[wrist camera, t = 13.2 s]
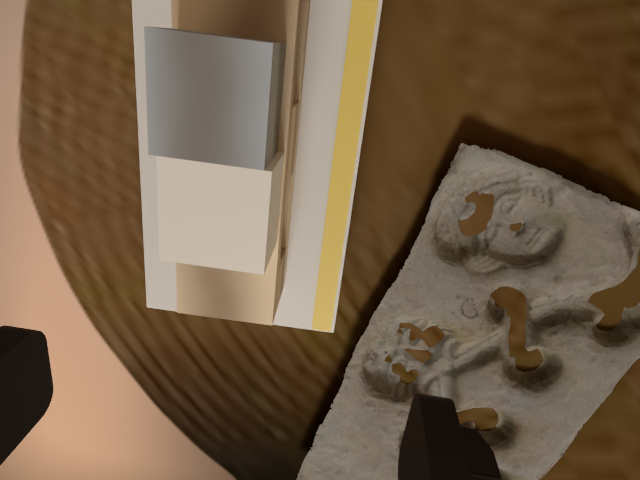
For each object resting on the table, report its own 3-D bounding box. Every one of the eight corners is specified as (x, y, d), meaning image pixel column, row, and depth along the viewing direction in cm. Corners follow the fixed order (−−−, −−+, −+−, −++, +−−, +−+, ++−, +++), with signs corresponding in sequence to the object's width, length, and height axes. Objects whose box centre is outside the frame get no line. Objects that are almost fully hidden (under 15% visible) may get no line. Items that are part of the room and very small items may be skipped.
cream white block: (284, 152, 20) (272, 171, 17) (276, 243, 22) (263, 274, 19) (185, 139, 20) (156, 155, 17) (185, 230, 22) (158, 260, 19)
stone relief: (721, 238, 31) (459, 129, 29) (754, 257, 29) (469, 138, 27) (483, 521, 44) (289, 459, 42) (491, 550, 42) (285, 486, 40)
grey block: (286, 42, 18) (273, 43, 15) (277, 151, 20) (264, 170, 17) (177, 28, 18) (144, 26, 15) (178, 138, 20) (148, 154, 17)
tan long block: (316, -67, 21) (306, -93, 16) (284, 283, 28) (272, 325, 24) (206, -79, 21) (168, -109, 17) (203, 272, 28) (177, 312, 24)
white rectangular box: (393, -100, 25) (403, -141, 19) (337, 286, 34) (333, 334, 29) (174, -125, 25) (121, -173, 19) (180, 265, 35) (145, 308, 29)
